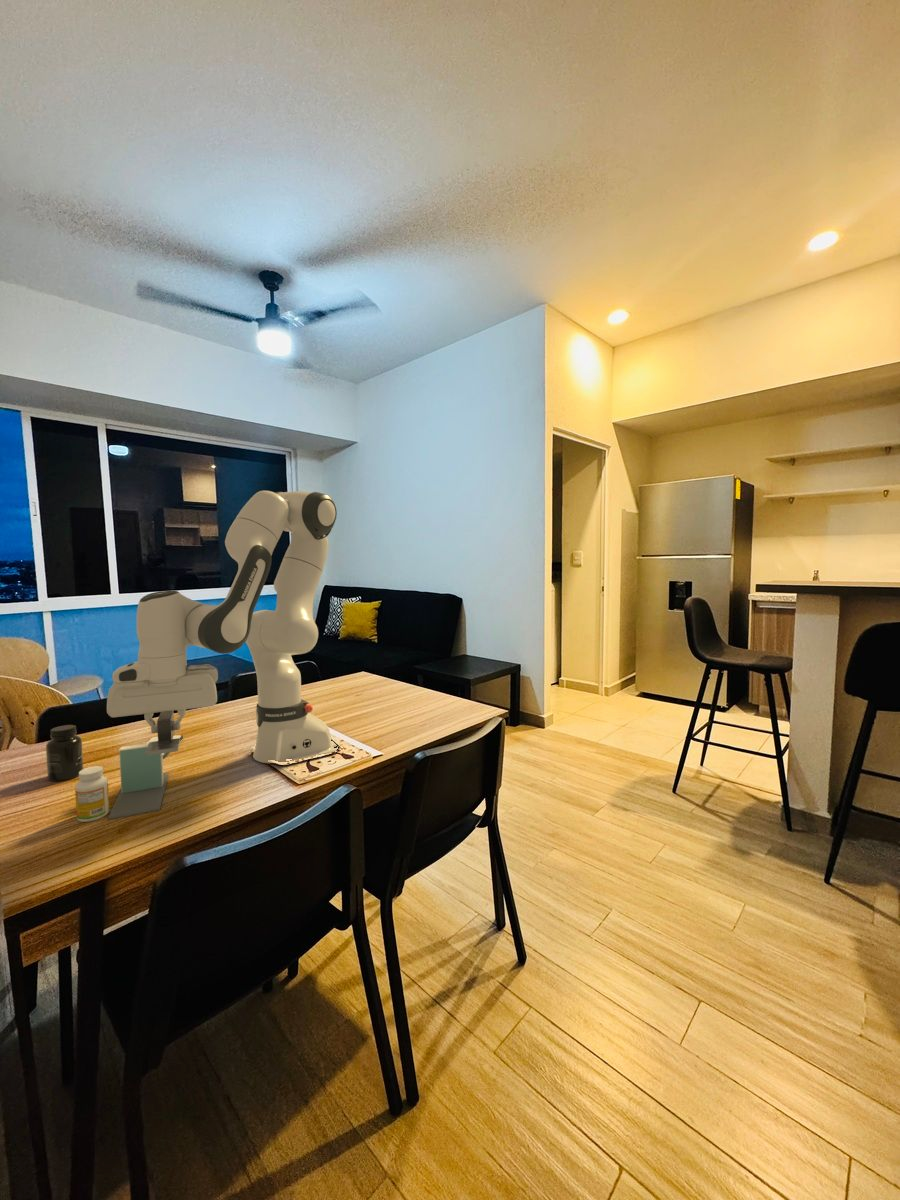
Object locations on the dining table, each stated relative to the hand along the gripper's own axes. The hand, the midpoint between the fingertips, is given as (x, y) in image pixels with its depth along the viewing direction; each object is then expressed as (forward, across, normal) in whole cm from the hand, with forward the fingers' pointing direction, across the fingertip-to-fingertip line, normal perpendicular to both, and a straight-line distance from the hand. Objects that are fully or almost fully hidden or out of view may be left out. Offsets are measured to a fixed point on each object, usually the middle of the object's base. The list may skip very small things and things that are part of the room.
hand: (166, 730), depth 104 cm
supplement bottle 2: (+16, +14, 0) cm, 21 cm away
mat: (+16, +6, -6) cm, 18 cm away
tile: (+16, +6, -9) cm, 19 cm away
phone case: (+17, +6, -35) cm, 39 cm away
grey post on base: (+2, 0, +3) cm, 3 cm away
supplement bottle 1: (+16, +24, -25) cm, 38 cm away
